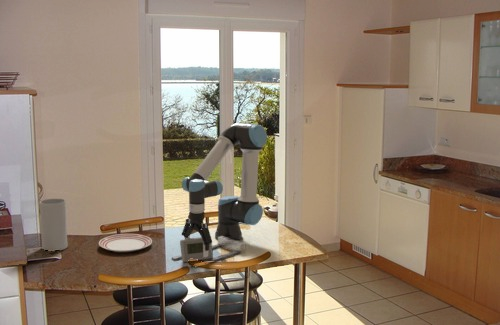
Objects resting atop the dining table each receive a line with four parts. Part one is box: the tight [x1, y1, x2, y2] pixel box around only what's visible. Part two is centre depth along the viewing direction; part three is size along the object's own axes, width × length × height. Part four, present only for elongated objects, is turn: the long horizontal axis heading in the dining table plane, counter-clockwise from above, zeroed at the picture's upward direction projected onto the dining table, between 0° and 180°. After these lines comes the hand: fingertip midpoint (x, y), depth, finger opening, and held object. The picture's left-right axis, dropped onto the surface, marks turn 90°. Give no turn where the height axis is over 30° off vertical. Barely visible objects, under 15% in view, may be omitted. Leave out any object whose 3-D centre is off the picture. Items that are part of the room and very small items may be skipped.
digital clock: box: [179, 236, 214, 263], centre depth 275 cm, size 16×9×11 cm, turn 102°
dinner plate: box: [98, 233, 153, 253], centre depth 294 cm, size 27×27×3 cm
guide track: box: [171, 236, 246, 269], centre depth 281 cm, size 17×34×5 cm, turn 136°
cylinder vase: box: [39, 198, 68, 251], centre depth 288 cm, size 12×12×25 cm
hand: (196, 253), depth 275 cm, fingers open, 13 cm apart
